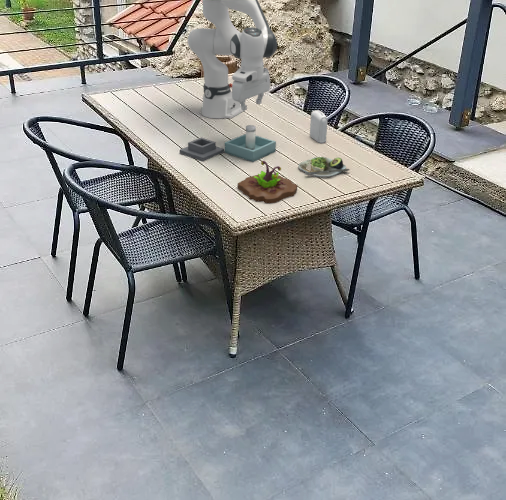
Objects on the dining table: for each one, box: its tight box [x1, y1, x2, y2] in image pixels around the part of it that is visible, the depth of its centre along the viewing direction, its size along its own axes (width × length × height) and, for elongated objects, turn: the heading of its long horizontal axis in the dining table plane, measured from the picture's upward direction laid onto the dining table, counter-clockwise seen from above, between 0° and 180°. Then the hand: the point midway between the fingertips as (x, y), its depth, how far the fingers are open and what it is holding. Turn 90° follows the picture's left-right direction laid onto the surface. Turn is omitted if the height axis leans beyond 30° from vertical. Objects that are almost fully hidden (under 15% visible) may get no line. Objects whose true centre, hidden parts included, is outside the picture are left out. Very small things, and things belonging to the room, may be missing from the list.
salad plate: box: [297, 156, 351, 178], centre depth 255 cm, size 19×18×5 cm
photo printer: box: [309, 109, 328, 144], centre depth 282 cm, size 10×4×12 cm, turn 20°
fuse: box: [245, 124, 257, 150], centre depth 267 cm, size 4×4×10 cm
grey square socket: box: [179, 137, 225, 162], centre depth 268 cm, size 13×13×4 cm
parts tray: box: [224, 133, 277, 163], centre depth 269 cm, size 15×15×4 cm
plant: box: [237, 160, 298, 205], centre depth 236 cm, size 20×20×11 cm
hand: (251, 106), depth 261 cm, fingers open, 8 cm apart
